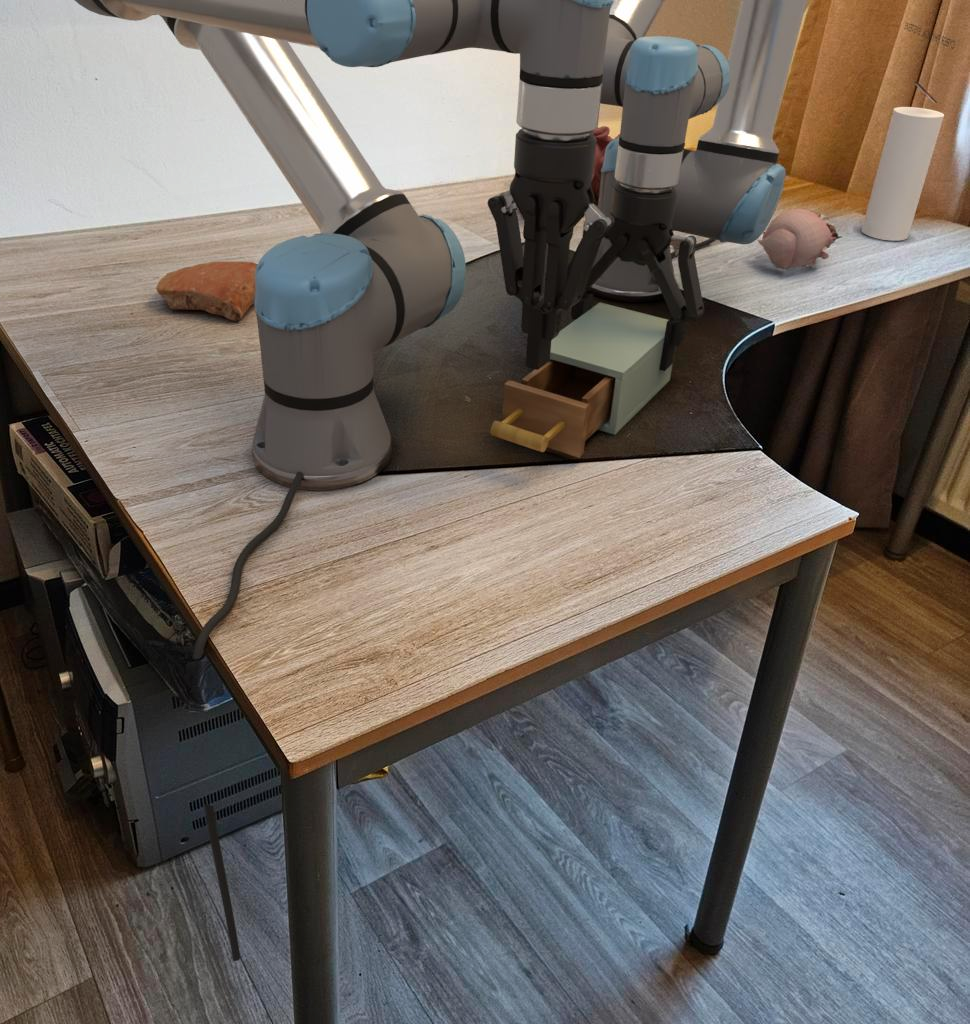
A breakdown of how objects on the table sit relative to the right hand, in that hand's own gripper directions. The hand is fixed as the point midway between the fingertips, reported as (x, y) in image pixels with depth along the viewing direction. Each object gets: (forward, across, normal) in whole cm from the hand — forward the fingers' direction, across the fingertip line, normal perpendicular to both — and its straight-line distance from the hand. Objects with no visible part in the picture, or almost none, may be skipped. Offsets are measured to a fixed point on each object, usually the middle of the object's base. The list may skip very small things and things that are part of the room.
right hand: (622, 354), depth 125 cm
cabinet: (+4, 0, +5) cm, 6 cm away
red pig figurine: (+4, +40, -67) cm, 78 cm away
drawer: (+3, 0, +18) cm, 18 cm away
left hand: (-9, 0, +25) cm, 27 cm away
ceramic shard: (+4, +61, +11) cm, 62 cm away
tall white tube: (+4, -16, -88) cm, 90 cm away
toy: (+4, -6, -59) cm, 59 cm away
